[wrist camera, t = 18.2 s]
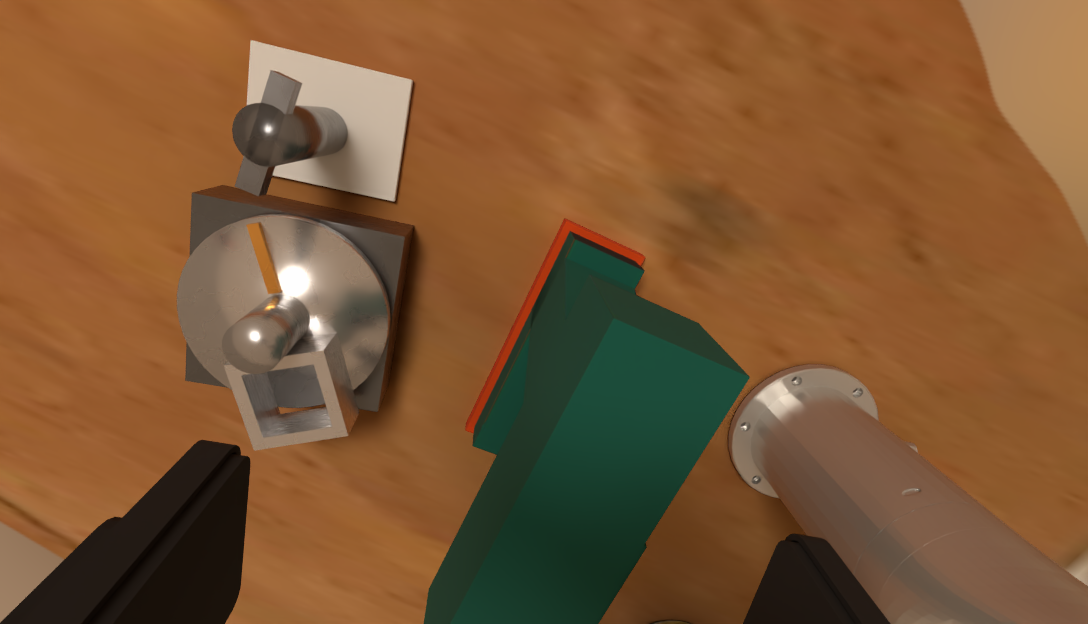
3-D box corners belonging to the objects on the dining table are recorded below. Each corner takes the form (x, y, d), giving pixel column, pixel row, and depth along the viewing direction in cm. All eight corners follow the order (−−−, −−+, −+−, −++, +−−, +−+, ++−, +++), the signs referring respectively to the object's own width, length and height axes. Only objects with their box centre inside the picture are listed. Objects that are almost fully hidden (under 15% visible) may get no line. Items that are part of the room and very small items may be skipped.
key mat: (413, 80, 37) (411, 80, 36) (395, 200, 39) (394, 201, 39) (254, 41, 36) (250, 40, 35) (246, 168, 38) (242, 168, 38)
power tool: (480, 571, 51) (468, 839, 32) (405, 548, 49) (348, 814, 31) (648, 257, 42) (767, 371, 23) (564, 218, 41) (620, 306, 22)
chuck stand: (413, 225, 40) (404, 236, 36) (388, 386, 44) (377, 411, 40) (222, 185, 38) (192, 192, 35) (213, 357, 42) (185, 380, 39)
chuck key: (361, 97, 37) (314, 90, 27) (331, 182, 38) (276, 204, 29) (316, 76, 36) (251, 61, 27) (287, 163, 38) (216, 178, 28)
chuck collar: (364, 199, 35) (337, 216, 29) (412, 397, 40) (397, 444, 34) (154, 230, 35) (87, 252, 29) (227, 426, 39) (182, 478, 34)
